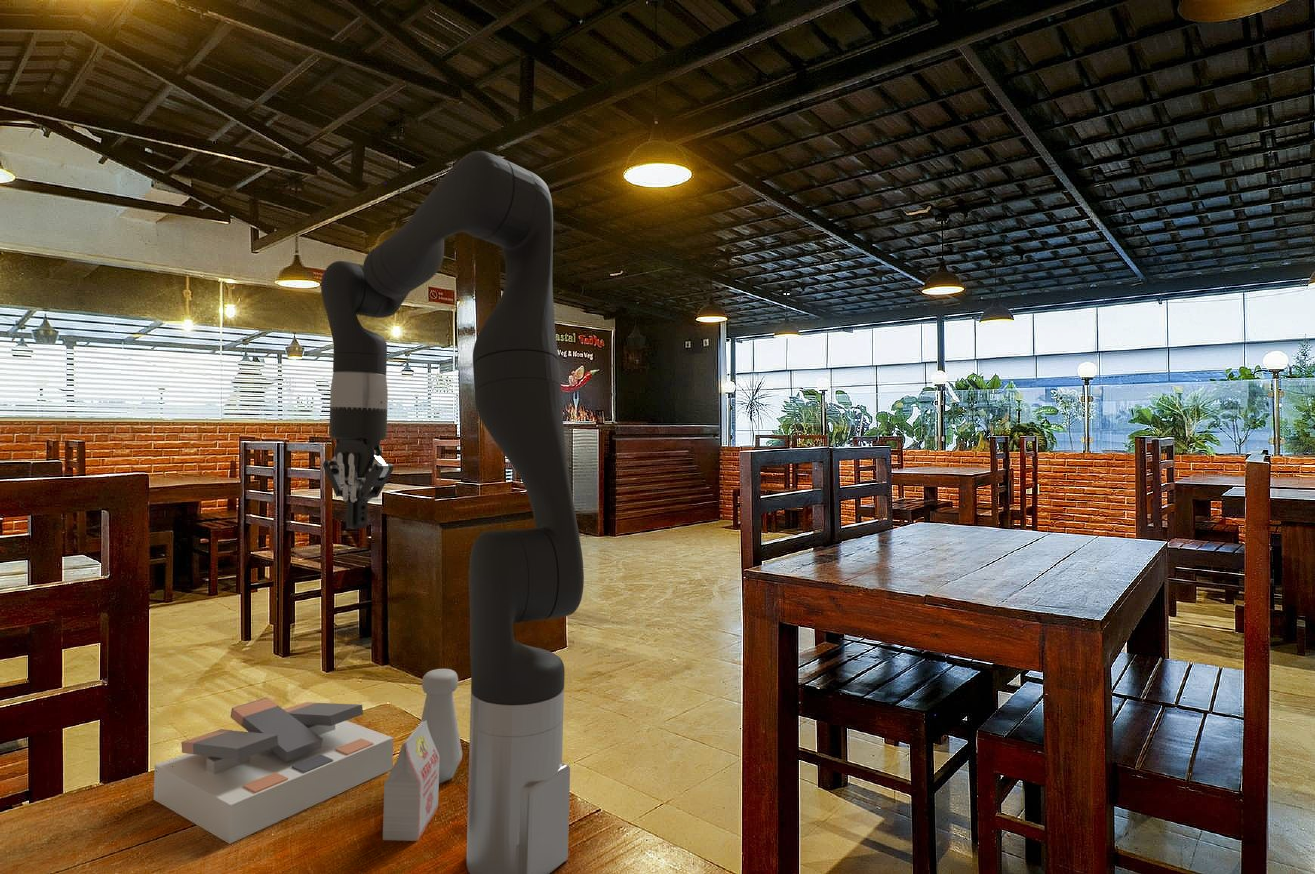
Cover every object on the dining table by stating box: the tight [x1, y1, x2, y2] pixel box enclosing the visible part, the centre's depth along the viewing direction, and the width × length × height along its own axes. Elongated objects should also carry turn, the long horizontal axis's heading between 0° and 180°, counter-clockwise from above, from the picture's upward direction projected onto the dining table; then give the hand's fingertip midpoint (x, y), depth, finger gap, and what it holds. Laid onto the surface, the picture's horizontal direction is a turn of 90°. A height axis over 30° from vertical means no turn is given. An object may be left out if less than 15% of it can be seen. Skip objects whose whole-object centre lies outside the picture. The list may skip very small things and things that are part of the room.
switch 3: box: [283, 701, 364, 726], centre depth 91 cm, size 12×4×1 cm, turn 59°
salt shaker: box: [420, 668, 463, 784], centre depth 89 cm, size 6×6×13 cm
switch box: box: [153, 720, 394, 845], centre depth 86 cm, size 16×20×5 cm
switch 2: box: [230, 697, 323, 762], centre depth 86 cm, size 12×4×1 cm, turn 59°
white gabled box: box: [382, 720, 440, 842], centre depth 78 cm, size 4×7×10 cm, turn 0°
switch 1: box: [181, 728, 278, 760], centre depth 82 cm, size 12×4×1 cm, turn 59°
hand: (355, 528), depth 101 cm, fingers closed
